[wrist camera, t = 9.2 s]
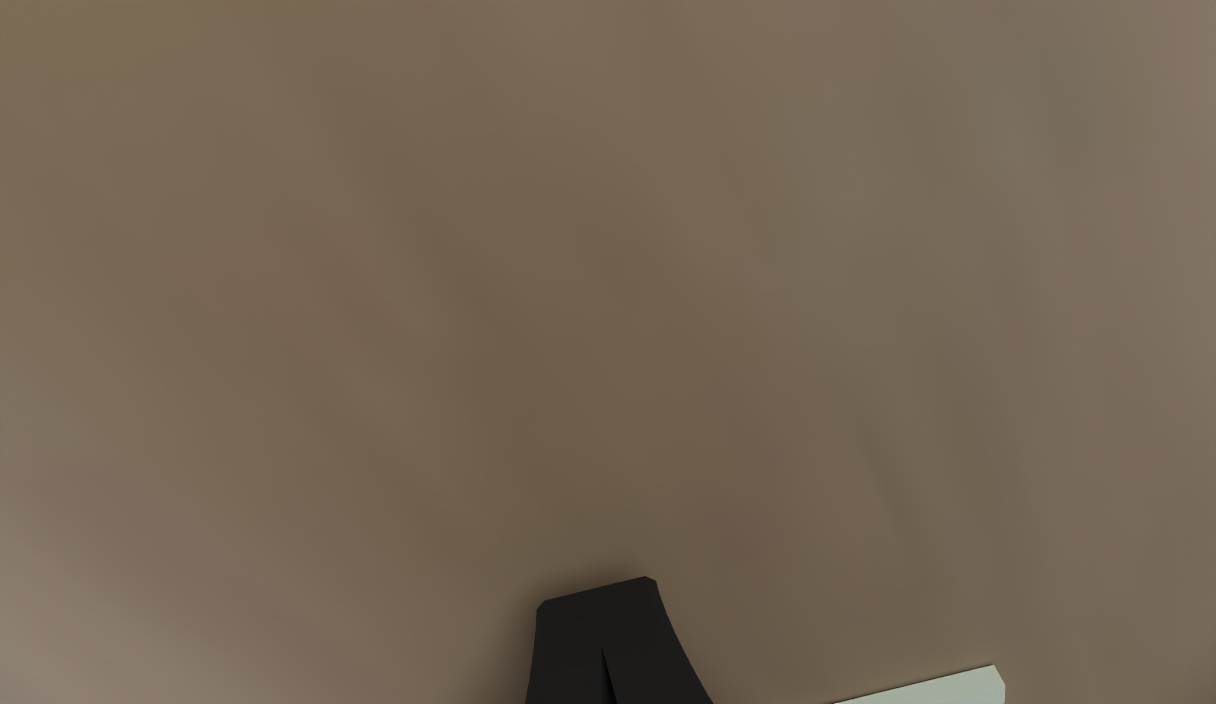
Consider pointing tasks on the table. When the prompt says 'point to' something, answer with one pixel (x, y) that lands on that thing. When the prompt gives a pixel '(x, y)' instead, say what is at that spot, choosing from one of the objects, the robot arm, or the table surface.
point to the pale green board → (945, 690)
